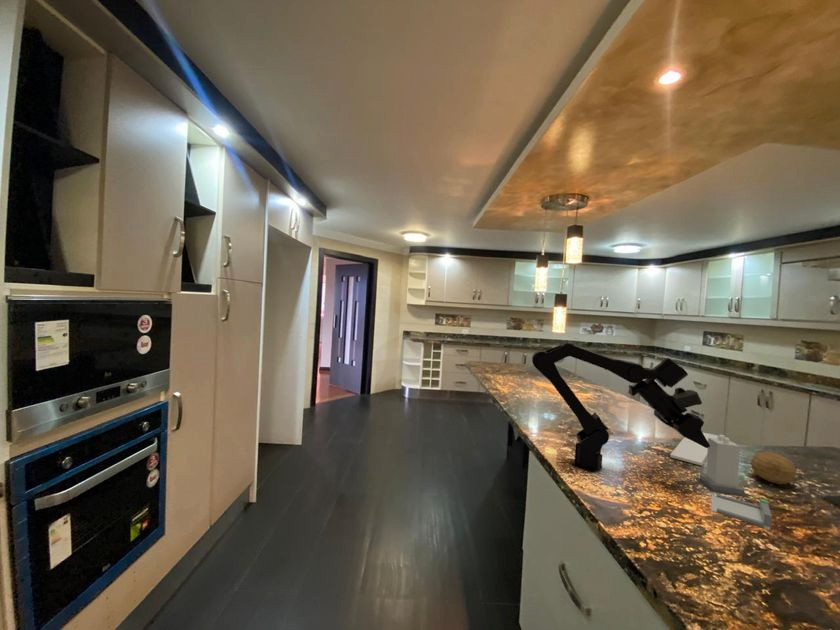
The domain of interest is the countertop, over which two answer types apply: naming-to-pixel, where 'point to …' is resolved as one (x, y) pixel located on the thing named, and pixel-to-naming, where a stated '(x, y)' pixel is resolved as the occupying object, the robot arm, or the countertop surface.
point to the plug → (722, 466)
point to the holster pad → (718, 491)
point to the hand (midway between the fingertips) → (699, 441)
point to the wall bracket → (692, 450)
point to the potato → (773, 467)
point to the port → (743, 510)
